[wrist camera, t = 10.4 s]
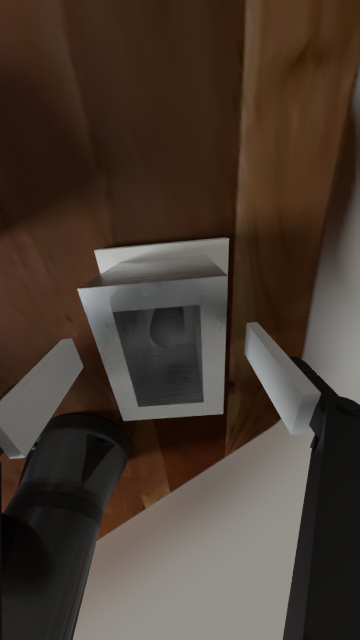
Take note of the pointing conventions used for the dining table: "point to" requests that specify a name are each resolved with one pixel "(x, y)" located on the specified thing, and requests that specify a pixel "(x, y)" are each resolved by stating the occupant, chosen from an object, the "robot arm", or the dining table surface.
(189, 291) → the steel link
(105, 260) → the keeper board
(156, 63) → the dining table surface
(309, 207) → the dining table surface
